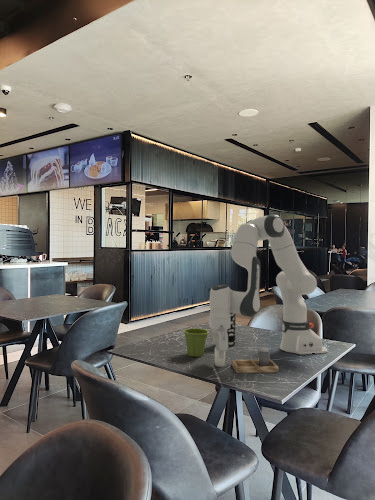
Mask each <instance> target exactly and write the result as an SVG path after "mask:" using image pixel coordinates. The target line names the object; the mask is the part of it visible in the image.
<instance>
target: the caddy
mask: <svg viewBox="0 0 375 500" xmlns="http://www.w3.org/2000/svg"><path fill="white" fill-rule="evenodd" d="M231 366H232V368H233V371H235V372H236V373H237V374H238V373H239V374H240V373H243V374H247V373H248V374H249V373H279V372H280V371H279V369H280V368H279V366H278V365H277V363H275V361H274V360H272V359H270V366H262V367H259V359H231Z"/></svg>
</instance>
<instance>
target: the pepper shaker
mask: <svg viewBox="0 0 375 500" xmlns="http://www.w3.org/2000/svg"><path fill="white" fill-rule="evenodd" d="M270 352H271V350H270V349H269V348H268V347H259V350H258V360H259V367H262V366H270V360H271V359H270V355H271V353H270Z"/></svg>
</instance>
